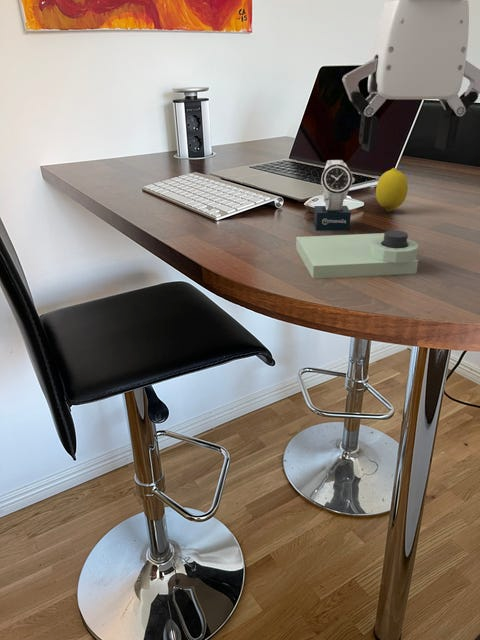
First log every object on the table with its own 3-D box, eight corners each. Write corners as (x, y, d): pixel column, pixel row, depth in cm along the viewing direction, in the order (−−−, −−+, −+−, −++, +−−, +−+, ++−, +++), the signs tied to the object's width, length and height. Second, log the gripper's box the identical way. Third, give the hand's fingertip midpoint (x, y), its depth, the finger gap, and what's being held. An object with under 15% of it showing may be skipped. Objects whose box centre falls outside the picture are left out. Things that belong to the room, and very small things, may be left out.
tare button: (401, 242, 68) (402, 229, 67) (409, 249, 66) (411, 236, 65) (379, 243, 68) (381, 230, 67) (387, 250, 65) (389, 237, 65)
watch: (317, 234, 82) (321, 165, 77) (312, 220, 89) (315, 156, 84) (351, 234, 82) (357, 165, 76) (344, 220, 89) (349, 156, 84)
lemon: (398, 207, 96) (404, 164, 92) (408, 215, 91) (414, 170, 87) (370, 208, 96) (374, 165, 92) (378, 216, 91) (383, 171, 87)
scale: (388, 244, 77) (391, 222, 75) (421, 275, 66) (425, 250, 64) (295, 248, 76) (296, 226, 74) (313, 280, 65) (315, 255, 63)
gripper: (487, -8, 58) (458, 145, 66) (342, -10, 57) (330, 146, 65) (524, -18, 52) (487, 154, 60) (361, -19, 51) (345, 155, 59)
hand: (405, 149), depth 62 cm, fingers open, 9 cm apart
